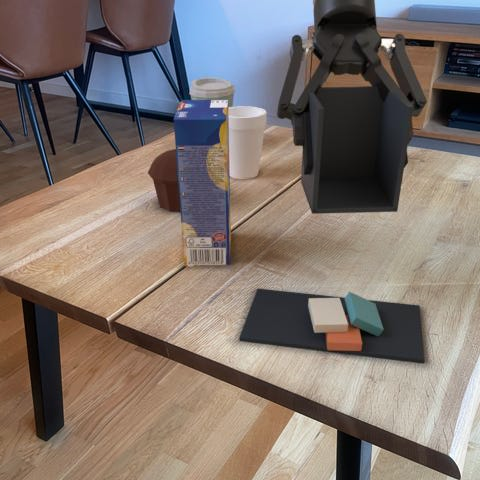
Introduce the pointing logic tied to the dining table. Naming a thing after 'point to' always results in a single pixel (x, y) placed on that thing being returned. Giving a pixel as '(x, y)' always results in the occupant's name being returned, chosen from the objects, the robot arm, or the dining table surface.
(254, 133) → the foam cup
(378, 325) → the block
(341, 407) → the dining table surface
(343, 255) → the dining table surface
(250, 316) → the mat
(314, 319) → the block
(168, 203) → the muffin
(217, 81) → the disposable coffee cup
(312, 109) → the basket
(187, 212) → the beverage box
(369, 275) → the dining table surface
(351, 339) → the block
